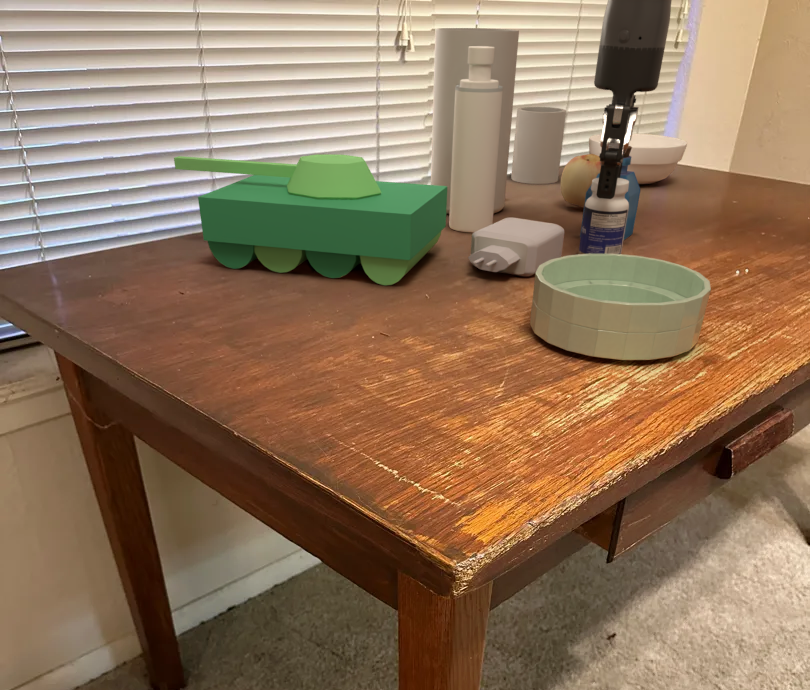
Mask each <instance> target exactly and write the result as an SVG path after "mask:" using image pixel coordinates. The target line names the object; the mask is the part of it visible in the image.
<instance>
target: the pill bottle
mask: <svg viewBox="0 0 810 690" xmlns="http://www.w3.org/2000/svg"><path fill="white" fill-rule="evenodd" d="M598 182H599V178H595V179H593V180H592V185H591V190H592V192H593V193H592V196H591V197H589V198H588V199H587V201H586V203H585V208H584V207H583V211H584V216H583V215H582V218H583V223H582V222H581V225H582V230H581V229H580V232H581V237H580V236H579V245H578V253H577V255H579V254H622V252H623V246H624V241H625V240H624V234H625V227H626V221H627V216H628V210H629V203H628V201H627V200H626V199H625V194H626V192H628V187H629V181H628V180H626V179H623V178H618V179H617V185H616V190H615V195H614V197H613V198H612V199H603V198H598V197H597V188H598ZM623 240H624V241H623Z"/></svg>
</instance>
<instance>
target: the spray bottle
mask: <svg viewBox="0 0 810 690" xmlns="http://www.w3.org/2000/svg"><path fill="white" fill-rule="evenodd" d="M493 62H494V47H488V46H470V47H469V48H468V64H469V79H462V80H460V85H456V86H455V106H454V126H453V148H452V171H451V193H450V214H448V215H449V217H448V227H449V228H450V229H451V230H453V231H455V232H460V233H461V232H462V233H472V234H473V233H474V232H476V231H478V230H480V229H483V228H485V227H487V226H489V225H492V224H494V213H493V211H494V198H495V185H496V172H497V159H498V146H499V133H500V119H501V105H502V91H503V87H502V86H498V85H499V81H498V80H492V79H491V65H492V64H493Z"/></svg>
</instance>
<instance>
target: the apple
mask: <svg viewBox="0 0 810 690" xmlns="http://www.w3.org/2000/svg"><path fill="white" fill-rule="evenodd" d="M600 162H601V161H600V158H599V156H597V155H594V154H589V153H587V154H582V155H581V154H580V155H577V156H574V157H572V158H571V159H570V160H569V161H568V162H567V163H566V164H565V166H564V168H563V170H562V173H561V176H560V192H561V196H562V198H563V199H564V201H565V202H567V203H568V204H572V205H575V206H578V207H581V208H584V204H585V197H586V192H587V190H588V189H589V187H590V186H591V184H592V180H593V179H595V178H596V177H597V175H598V174H599V173H600V169H601V165H600Z"/></svg>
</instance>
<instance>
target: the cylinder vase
mask: <svg viewBox="0 0 810 690" xmlns="http://www.w3.org/2000/svg"><path fill="white" fill-rule="evenodd" d="M434 29H435V30H434V31H435V32H434V56H433V57H434V58H433V93H432V123H431V124H432V125H431V126H432V128H431V130H432V131H431V159H430V160H431V161H430V162H431V163H430V185H438V186H447V208H446V215H447V214H448V215H450V193H451V171H452V148H453V126H454V106H455V86H456V85H460V80H462V79H469V64H468V48H469V47H470V46H488V47H494V62H493V64H492V65H491V79H492V80H498V81H499V85H498V86H502V87H503V91H502V105H501V119H500V133H499V146H498V159H497V172H496V185H495V198H494V211H493V214H497V213H499V212H501V211H502V210H503V209H504V207H505V204H506V193H507V181H508V179H507V178H508V168H509V158H510V157H509V155H510V145H511V144H510V143H511V133H512V122H513V121H512V120H513V107H514V98H515V97H514V96H515V85H516V84H515V83H516V73H517V60H518V50H519V49H518V48H519V37H520V30H519V29H511V28H510V29H509V28H488V27H487V28H484V27H483V28H482V27H480V28H478V27H477V28H476V27H438V28H434Z"/></svg>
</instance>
